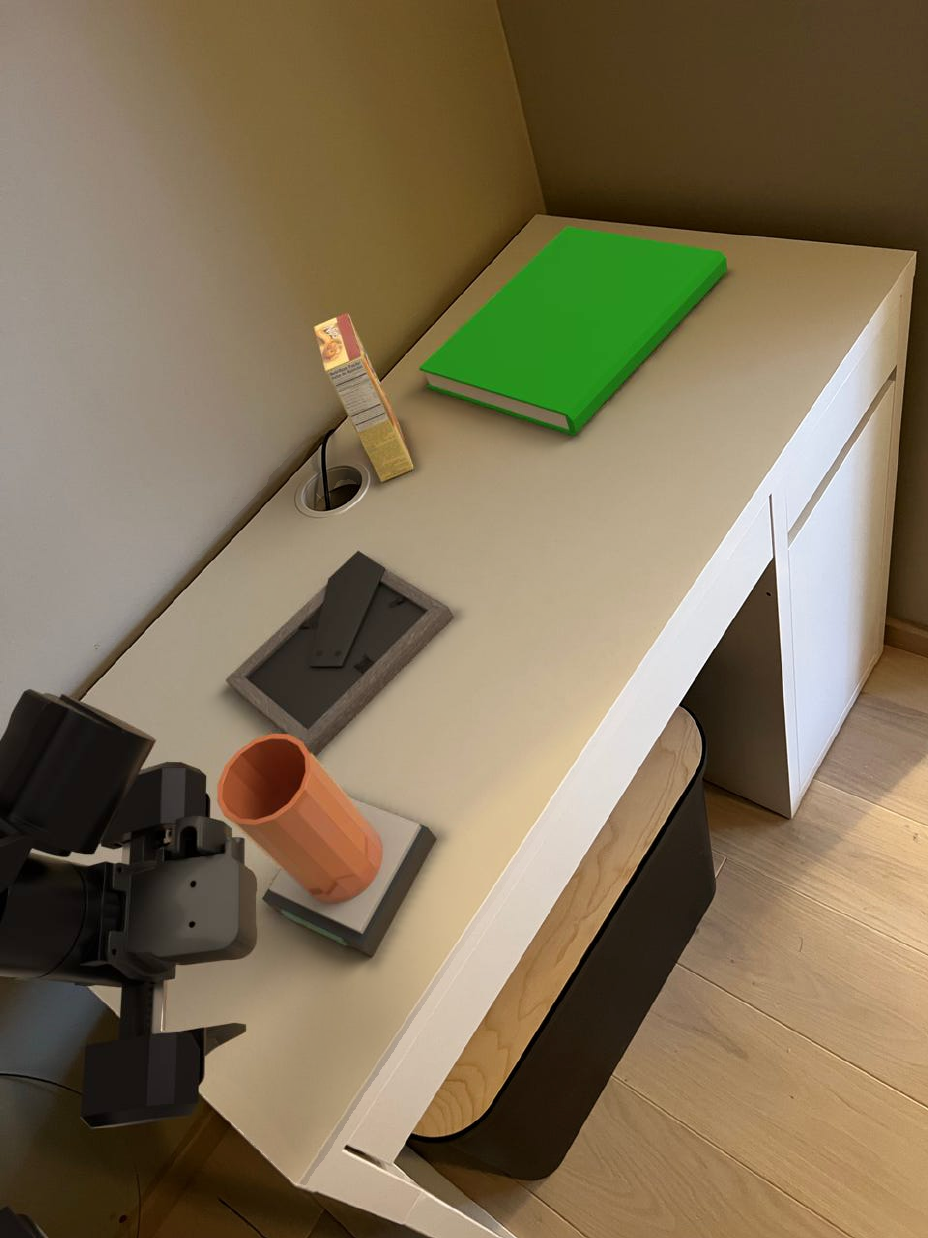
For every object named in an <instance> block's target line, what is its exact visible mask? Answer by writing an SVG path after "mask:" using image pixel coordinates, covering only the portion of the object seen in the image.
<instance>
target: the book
mask: <svg viewBox="0 0 928 1238" xmlns="http://www.w3.org/2000/svg"><path fill="white" fill-rule="evenodd" d="M727 271H728V263H727V257H726V256H725V255H724V254H723V252H722V251H721V250H715V249H710V248H703V247H698V246H690V245H685V244H679V243H672V242H666V241H660V240H654V239H648V238H642V237H636V236H635V237H634V236H630V235H629V236H628V235H623V234H617V233H610V232H605V231H599V230H592V229H585V228H580V227H573V226H568V225H566V226H565V228H563V229H562V230H561V231H560V232H559V233H558V234H557V235H556V236H555V237H553V239H552V240H550V241H549V243H548V244H546V246H544V247H543V248H542V249H541V250H540V251H539V252H538V253H537V254H535V256H534V257H533V258H531V259H530V261H529V262H528V263H527V264H526V265H524V267H523V268H522V269H520V270H519V271H518V272H517V273H516V274H515V275H514V276H513V277H512V278H511V279H510V280H509V281H507V283H506V284H505V285H504V286H502V287H501V288H500V290H498V291H497V292H496V293H495V294H494V295H493V296H492V297H491V298H490V299H489V300H488V301H487V302H486V303H484V304H483V306H482V307H480V308H479V310H478V311H476V312H475V313H474V314H473V315H472V316H471V317H470V318H469V319H468V320H467V321H466V322H465V323H464V324H463V325H461V326H460V328H459V329H458V330H456V331H455V333H454V334H452V336H451V337H449V338H448V339H447V340H446V341H445V342H444V343H443V344H441V346H440V347H439V348H438V349H436V350H435V352H434V353H432V355H430V356H429V357H428V358H427V359H426V360H425V361H424V362H423V363H422V364H421V365H420V366H419V367H418V369H419V371H422V372H423V373H425V377H426V378H427V380H428V384H427V385H426V388H427V389H428V390H431V391H435V392H437V393H441V394H444V395H447V396H450V397H453V398H456V399H459V400H461V401H464V402H468V403H471V404H473V405H476V406H480V407H483V408H487V409H489V410H493V411H495V412H498V413H501V414H504V415H508V416H511V417H514V418H517V419H519V420H522V421H525V422H528V423H532V424H535V425H538V426H541V427H544V428H546V429H550V430H553V431H556V432H559V433H561V434H565V435H568V436H571V437H575V436H576V434H577V433H578V432H579V431H580V430H581V429H582V428H583V427H584V426H585V425H586V424H587V423H588V422H589V420H590V419H591V418H592V417H593V416H594V415H595V414H596V413H597V412H598V411H599V410H600V409H601V407H602V406H603V405H604V404H605V403H606V402H607V401H608V400H609V399H610V398H611V397H612V396H613V395H614V394H615V392H616V391H617V390H618V389H620V387H621V386H622V385H623V384H624V383H625V382H626V381H627V379H628V378H629V377H631V375H632V374H633V373H634V372H635V371H636V370H637V369H638V368H639V367H640V366H641V364H643V362H644V361H645V360H646V359H647V358H648V357H649V356H650V355H651V354H652V352H653V351H655V350H656V349H657V347H658V346H659V345H660V344H661V343H662V342H663V341H664V340H665V339H666V338H667V337H668V335H670V334H671V332H672V331H673V330H674V329H675V328H676V327H677V325H679V324H680V323H681V321H682V320H683V319H684V318H685V317H686V316H687V315H688V314H689V313H690V312H691V310H693V308H694V307H695V306H696V305H697V304H698V303H699V302H700V301H701V300H702V299H703V298H704V297H705V296H706V295H707V293H709V291H710V290H711V289H713V287H714V286H715V285H717V283H718V282H719V281H720V280H721V278H722V277H724V275H725V274H726V272H727Z"/></svg>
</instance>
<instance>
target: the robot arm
mask: <svg viewBox="0 0 928 1238" xmlns="http://www.w3.org/2000/svg"><path fill="white" fill-rule="evenodd" d="M156 742H157V739H156V738H155V737H153V736H151V735H149V734H148V733H146V732H145V731H143V730H141V729H139V728H137V727H135V726H133V725H132V724H129V723H128V722H126V721H124V720H122V719H120V718H119V717H118V718H117V717H115V716H113V715H112V714H109V713H107V712H105V711H103V710H101V709H98V708H97V707H95V706H92V705H90V704H88V703H86V702H83V701H82V700H79V699H77V698H74V697H73V696H72V697H71V696H69V695H66V694H64V693H61V694H60V696H58V695H56V694H52V693H49V692H44V693H41V692H40V691H37V690H34V689H32V688H28V689H26V690H24V691H23V692H22V694H21V696H20V697H19V700H18V701H17V703H16V705H15V706H14V708H13V710H12V712H11V714H10V717H9V720H8V723H7V726H6V729H5V731H4V733H3V735H2V736H1V738H0V977H8V978H12V979H11V980H17V981H27V982H29V981H33V980H39V981H49V982H57V983H58V982H60V983H70V984H74V986H79V987H93V986H99V987H109V988H110V987H111V988H119V989H120V988H121V990H120V991H121V992H120V1007H119V1025H118V1039H113V1040H106V1041H102V1042H96V1043H91V1044H90V1043H89V1044H86V1045H85V1050H84V1062H83V1063H84V1064H83V1073H82V1074H83V1075H82V1090H81V1101H80V1102H81V1103H80V1119H81V1120H82V1121H83V1122H84V1123H85V1124H86V1125H87V1126H88V1127H89V1128H90V1129H102V1128H117V1127H123V1126H131V1125H137V1124H138V1125H139V1124H146V1123H152V1122H159V1121H166V1120H174V1119H182V1118H188V1117H191V1115H192V1114H193V1113H194V1110H195V1109H196V1108H197V1106H198V1105H199V1102H200V1086H201V1085H202V1083H203V1082H204V1080H205V1075H206V1056H208V1055H209V1054H210V1053H211V1052H213V1051H214V1050H215V1049H217V1048H218V1047H220V1046H222V1045H224V1044H226V1043H227V1042H229V1041H231V1040H234V1039H235V1038H237V1037H239V1036H240V1035H242V1034H244V1033H246V1032H247V1024H246V1023H240V1022H229V1023H225V1024H219V1025H212V1026H206V1027H205V1026H204V1027H197V1028H193V1029H192V1028H191V1029H187V1030H181V1031H169V1032H168V1031H167V1028H166V1027H167V1008H168V1006H167V1005H168V981H169V980H174V979H176V968H177V966H191V965H198V964H207V963H215V962H223V961H235V960H241V959H244V958H246V957H248V956H249V955H250V954H251V953H252V952H253V951H254V949H255V947H256V945H257V942H258V926H257V892H258V879H257V876H256V873H255V872H254V871H253V870H252V869H250V868H249V867H248V866H246V862H245V860H246V855H245V854H246V845H245V844H246V839H245V838H244V837H240V836H233V828H232V827H231V826H230V825H229V824H228V823H227V822H225V821H223V820H221V819H216V818H212V817H211V797H210V795H209V794H208V793H207V775H206V774H205V773H204V772H203V771H202V770H201V768H198V767H195V766H193V765H190V764H187V763H185V762H183V761H165V762H161V763H159V764H154V765H152V766H148V767H145V768H143V766H144V764H145V762H146V761H147V759H148V757H149V755H150V753H151V751H152V749H153V748H154V746H155V744H156ZM99 845H100V847H102V848H104V849H105V848H106V849H110V850H113V851H114V850H119V849H122V851H121V862H115V863H114V862H111V861H107V860H106V861H101V862H98V863H94V864H89V865H88V864H83V863H79V862H75V861H70V860H67V859H61V858H57V857H62V858H68V857H70V856H71V855H72V853H74V854H78V855H79V854H80V855H87V856H88V855H89V856H90V855H92V856H93V855H95V854H96V851H97V849H98V847H99ZM32 850H35V851H39V852H41V853H45V854H46V855H43V854H40V853H36V852H31V851H32ZM47 854H48V855H47ZM49 855H51V856H49ZM52 856H53V857H52ZM0 1238H49V1237H48V1236H47V1234H45V1232H44V1231H43V1230H42V1229H41V1228H40V1227H39V1226H38V1224H37V1223H36V1222H35V1220H33V1219H32V1218H31V1217H29V1215H27V1214H23V1213H14V1211H13V1210H12V1209H11V1207H10V1206H8V1205H6V1206H4V1207H3V1208H0Z"/></svg>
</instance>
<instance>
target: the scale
mask: <svg viewBox="0 0 928 1238" xmlns="http://www.w3.org/2000/svg"><path fill="white" fill-rule="evenodd" d="M348 797H349V798H350V799H351V800H352V802H353V803H354V804H355V805H356V806H357V808H358V809H359V810H360V811H361V812H362V814H363V815H364V816H365V817H366V818H367V820H368V821H369V822H370V823H371V824H372V826H373V828H374V829H375V830H376V832H377V833H378V835H379V836H380V839H381V842H382V847H383V857H382V862H381V866H380V869H379V871H378V873H377V875H376V877H375V878H374V880H373V881H372V883H371V884H370V885H369V886H368V887H367V888H366V889H365V890H364V891H363V892H362V893H360V894H359V895H357V896H356V897H354V898H352V899H350V900H347V901H344V902H340V903H325V902H321V901H318V900H317V899H315V898H313V897H312V896H311V895H310V894H308V893H307V892H305V891H304V890H303V889H302V888H301V887H300V886H299V885H298V884H297V883H296V882H295V881H293V880H292V879H291V878H290V877H289V876H288V875H287V874H286V873H285V872H284V871H283V870H282V869H281V868H280V867H279V870H278V871H277V874H276V875H275V877H274V878H273V880H272V881H271V883H270V884H269V886H268V888H267V889H266V891H265V893H264V894H263V896H262V897H261V900H262V901H263V902H264V903H265V904H267V905H268V906H269V907H270V908H271V909H273V910H275V911H277V912H279V913H281V914H282V915H284V916H285V917H286V918H287V919H290V920H292V921H294V922H296V923H298V924H300V925H302V926H304V927H306V928H308V929H310V930H312V931H315V932H317V933H318V934H320V935H323V936H325V937H327V938H329V939H331V940H333V941H335V942H337V943H339V944H342V945H343V946H345V947H348V946H349V947H351V948H353V949H355V950H357V951H359V952H362V953H364V954H365V955H368V956H370V957H372V958H373V957H374V956H375V954H376V952H377V950H378V948H379V946H380V944H381V942H382V941H383V939H384V937H385V935H386V934H387V931H388V930H389V927H390V926H391V924H392V922H393V920H394V918H395V916H396V915H397V913H398V911H399V909H400V907H401V905H402V904H403V902H404V900H405V898H406V896H407V895H408V893H409V891H410V889H411V887H412V885H413V883H414V881H415V879H416V878H417V876H418V873H419V872H420V870H421V868H422V867H423V865H424V863H425V861H426V859H427V857H428V856H429V854H430V852H431V850H432V848H433V846H434V844H435V843H436V840H437V837H436V836H435V834H434V833H433V832H432V830H431V829H430V828H429V827H428V826H427V825H424V824H421V823H418V822H416V821H414V820H410V819H407V818H405V817H402V816H400V815H397V814H394V813H392V812H390V811H387V810H384V809H382V808H379V807H376V806H374V805H371V804H369V803H366V802H363V801H361V800H358V799H355V798H353V797H351V796H348Z"/></svg>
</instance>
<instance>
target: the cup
mask: <svg viewBox="0 0 928 1238" xmlns="http://www.w3.org/2000/svg"><path fill="white" fill-rule="evenodd" d="M216 788H217V791H216V792H217V796H216V801H217V804H218V807H219V808H220V811H221V812H222V814H223V816H224V817H225V818H226V819H227V820H228V821H229V822H230V823H231V824H232V825H233V826H234V827H235V828H236V829H237V830H239V831H240V832H241V834H243V835H244V836H245V837H246V838H247V839H248V840H249V841H250V842H252V844H254V845H255V846H256V847H257V848H258V849H259V850H260V851H261V852H262V853H263V854H264V855H265V856H266V857H268V858H269V860H271V861H272V862H273V863H274V864H275V865H276V866H277V867H278V868H279V869H280V868H281V869H282V870H283V871H284V872H285V873H286V874H287V875H288V876H289V877H290V878H291V879H292V880H293V881H295V882H296V883H297V884H298V885H299V886H300V887H301V888H302V889H303V890H304V891H305V892H307V893H308V894H310V895H311V896H312V897H313V898H315V899H317V900H318V901H321V902H325V903H340V902H344V901H347V900H350V899H352V898H354V897H356V896H357V895H359V894H360V893H362V892H363V891H364V890H365V889H366V888H367V887H368V886H369V885H370V884H371V883H372V881H373V880H374V878H375V877H376V875H377V873H378V871H379V869H380V866H381V862H382V857H383V847H382V842H381V839H380V836H379V835H378V833H377V832H376V830H375V829H374V828H373V826H372V824H371V823H370V822H369V821H368V820H367V818H366V817H365V816H364V815H363V814H362V812H361V811H360V810H359V809H358V808H357V806H356V805H355V804H354V803H353V802H352V800H351V799H350V798H351V797H350V796H348V794H347V793H346V792H345V791H344V790H343V788H342V787H341V786H340V785H339V783H338V782H337V781H336V780H335V779H334V777H333V776H332V775H331V774H330V773H329V771H328V770H327V769H326V768H325V766H323V764H322V763H321V762H320V761H319V759H318V758H317V756H314V755H313V754H312V753H311V751H310V750H309V749H308V748H307V747H306V745H305V744H304V743H303V742H302V741H300V740H298V739H297V738H295V737H293V736H291V735H289V734H285V733H269V734H267V735H264V736H260V737H258V738H254V739H253V740H251V741H250V742H248V743H247V744H246V745H244V746H242V747H241V748H239V749H238V750H237V751H236V752H235V753H234V755H233V756H232V757H231V758H230V759H229V761H228V762H227V764H226V765H224V768H223V770H222V772H221V775H220V777H219V779H218V783H217V787H216ZM349 797H350V798H349Z"/></svg>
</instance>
